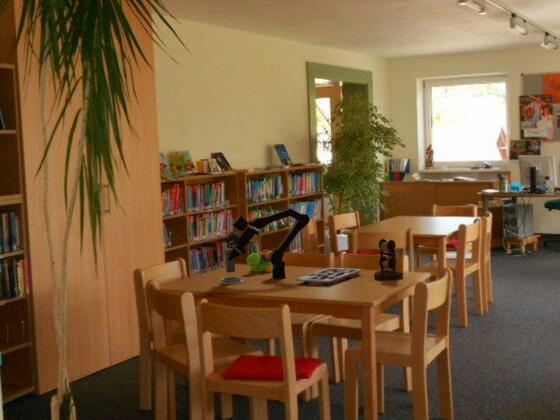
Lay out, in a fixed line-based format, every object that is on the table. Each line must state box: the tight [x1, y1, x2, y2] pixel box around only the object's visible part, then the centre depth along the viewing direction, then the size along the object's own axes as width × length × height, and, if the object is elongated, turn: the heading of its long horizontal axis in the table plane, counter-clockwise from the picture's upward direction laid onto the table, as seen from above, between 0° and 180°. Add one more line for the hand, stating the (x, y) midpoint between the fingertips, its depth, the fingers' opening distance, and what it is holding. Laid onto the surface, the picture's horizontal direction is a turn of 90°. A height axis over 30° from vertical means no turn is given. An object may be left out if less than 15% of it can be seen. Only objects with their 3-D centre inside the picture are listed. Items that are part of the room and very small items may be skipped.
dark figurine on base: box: [373, 238, 404, 281], centre depth 404 cm, size 15×15×20 cm
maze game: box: [295, 267, 363, 286], centre depth 411 cm, size 35×20×3 cm, turn 146°
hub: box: [218, 276, 244, 286], centre depth 420 cm, size 13×13×2 cm
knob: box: [224, 248, 236, 273], centre depth 419 cm, size 5×5×12 cm
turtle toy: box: [246, 249, 273, 273], centre depth 452 cm, size 17×23×12 cm
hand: (227, 259), depth 419 cm, fingers closed on knob, 5 cm apart
